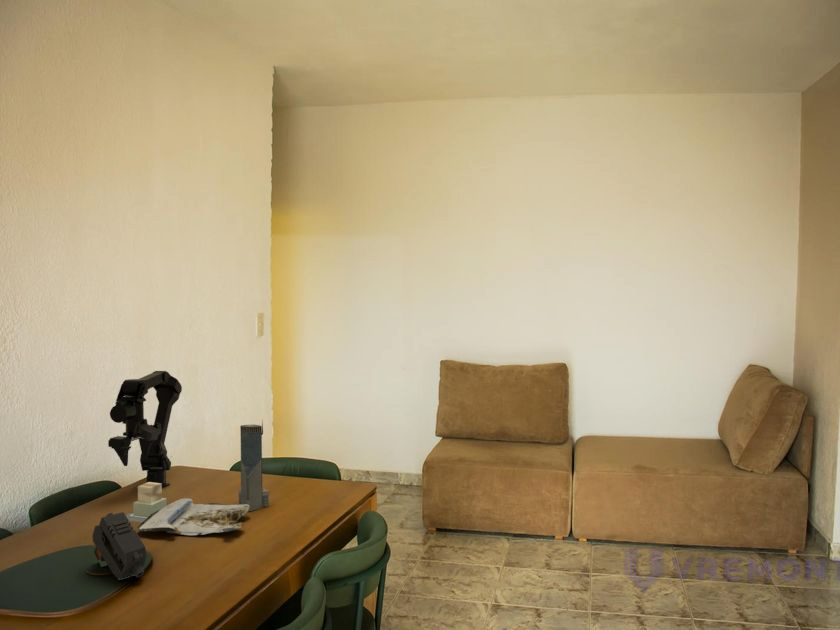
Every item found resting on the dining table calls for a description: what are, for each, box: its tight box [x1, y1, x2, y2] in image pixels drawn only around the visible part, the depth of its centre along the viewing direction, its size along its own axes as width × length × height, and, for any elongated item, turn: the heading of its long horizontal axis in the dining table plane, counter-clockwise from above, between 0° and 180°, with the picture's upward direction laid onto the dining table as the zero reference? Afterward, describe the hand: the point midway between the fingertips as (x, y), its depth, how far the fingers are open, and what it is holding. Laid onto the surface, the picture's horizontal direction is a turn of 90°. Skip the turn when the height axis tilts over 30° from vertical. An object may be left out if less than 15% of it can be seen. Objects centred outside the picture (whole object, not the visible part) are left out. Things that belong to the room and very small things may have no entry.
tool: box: [92, 511, 148, 579], centre depth 176 cm, size 6×19×15 cm, turn 51°
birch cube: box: [137, 481, 163, 504], centre depth 220 cm, size 5×5×5 cm
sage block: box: [132, 497, 168, 517], centre depth 220 cm, size 7×7×4 cm
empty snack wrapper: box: [136, 497, 250, 536], centre depth 210 cm, size 24×30×5 cm
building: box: [238, 420, 270, 513], centre depth 226 cm, size 10×9×30 cm
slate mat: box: [125, 511, 148, 524], centre depth 220 cm, size 16×12×1 cm
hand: (135, 462), depth 235 cm, fingers open, 9 cm apart
